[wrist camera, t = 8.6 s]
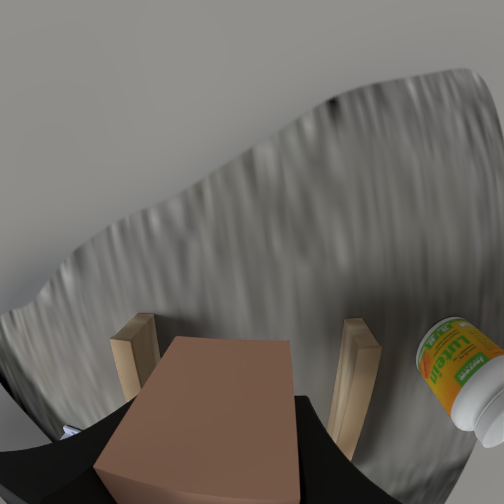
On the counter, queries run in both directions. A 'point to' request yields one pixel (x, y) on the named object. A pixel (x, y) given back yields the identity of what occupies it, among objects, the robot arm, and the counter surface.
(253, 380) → the block
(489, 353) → the supplement bottle
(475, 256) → the counter surface
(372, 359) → the wooden u-shaped frame
